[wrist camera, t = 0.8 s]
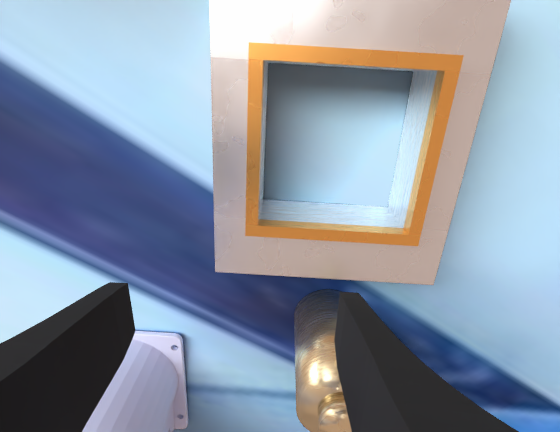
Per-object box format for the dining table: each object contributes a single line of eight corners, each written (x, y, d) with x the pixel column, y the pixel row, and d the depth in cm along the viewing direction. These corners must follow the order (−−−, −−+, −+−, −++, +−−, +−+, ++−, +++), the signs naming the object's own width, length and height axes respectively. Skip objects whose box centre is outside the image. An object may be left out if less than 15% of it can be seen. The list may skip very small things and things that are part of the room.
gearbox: (414, 257, 21) (439, 293, 18) (224, 246, 21) (212, 280, 18) (495, -82, 15) (559, -130, 11) (221, -99, 15) (201, -152, 11)
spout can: (354, 343, 24) (383, 462, 17) (292, 340, 24) (293, 456, 17) (368, 269, 22) (408, 369, 14) (298, 265, 22) (303, 363, 14)
